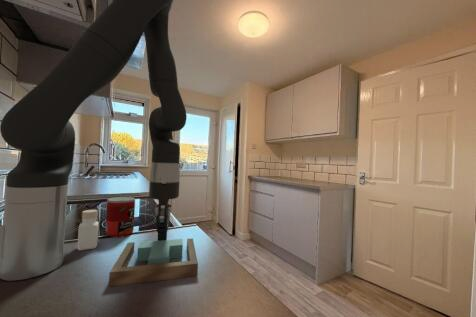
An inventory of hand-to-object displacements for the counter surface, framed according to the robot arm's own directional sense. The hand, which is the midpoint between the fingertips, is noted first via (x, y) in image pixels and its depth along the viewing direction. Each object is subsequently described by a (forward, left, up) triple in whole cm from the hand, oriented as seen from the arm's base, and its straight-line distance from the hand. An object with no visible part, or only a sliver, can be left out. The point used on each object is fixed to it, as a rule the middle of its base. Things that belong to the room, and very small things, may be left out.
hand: (161, 245), depth 54 cm
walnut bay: (0, -7, -1) cm, 7 cm away
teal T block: (0, -7, -1) cm, 7 cm away
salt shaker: (-19, +5, -1) cm, 19 cm away
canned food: (-14, +15, -1) cm, 20 cm away
